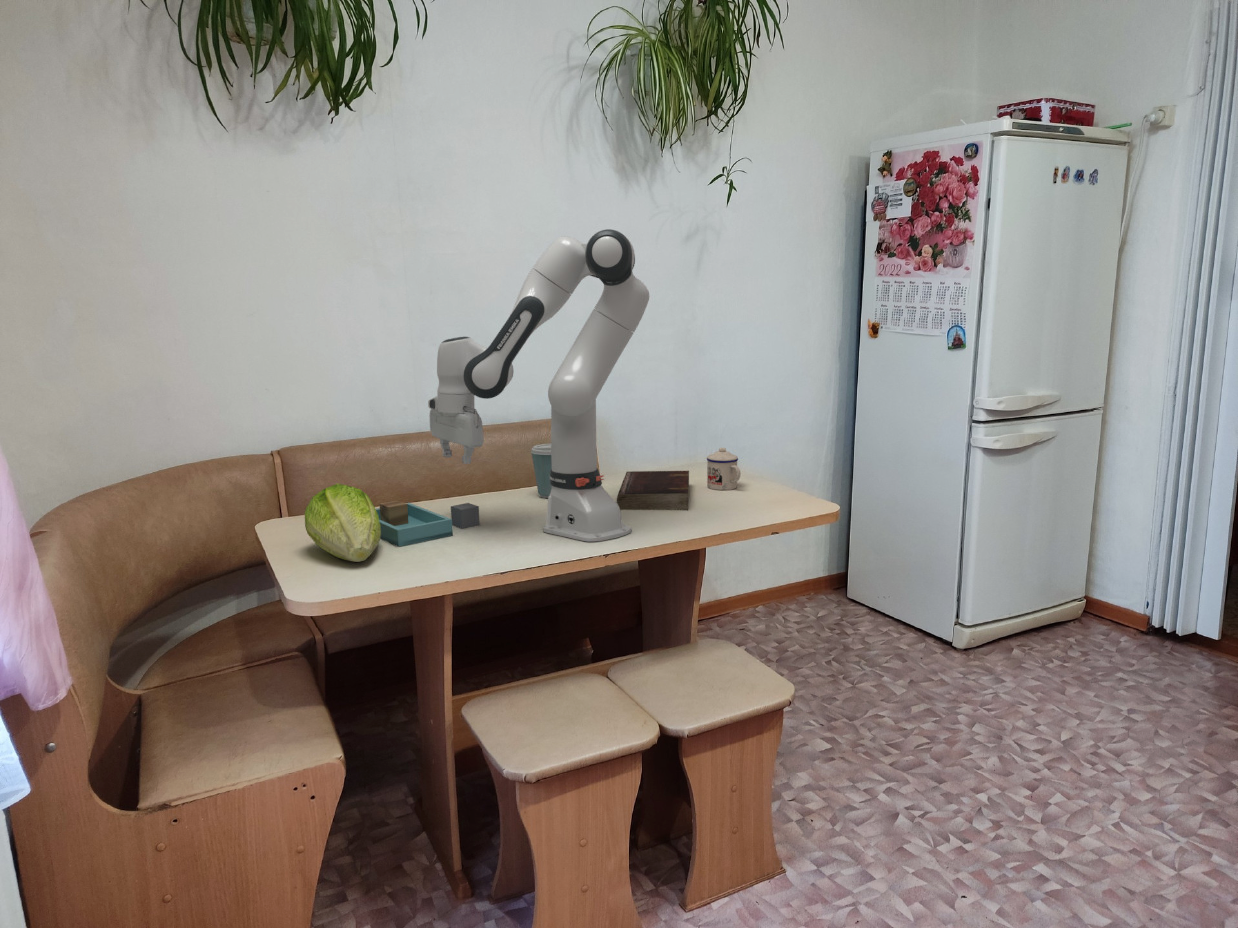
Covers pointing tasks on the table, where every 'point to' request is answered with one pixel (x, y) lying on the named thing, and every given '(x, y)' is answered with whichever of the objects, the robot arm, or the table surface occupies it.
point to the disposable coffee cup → (542, 468)
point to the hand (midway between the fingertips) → (456, 460)
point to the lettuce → (343, 522)
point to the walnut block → (394, 512)
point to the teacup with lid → (722, 470)
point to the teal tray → (416, 527)
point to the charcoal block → (465, 515)
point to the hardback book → (654, 490)
